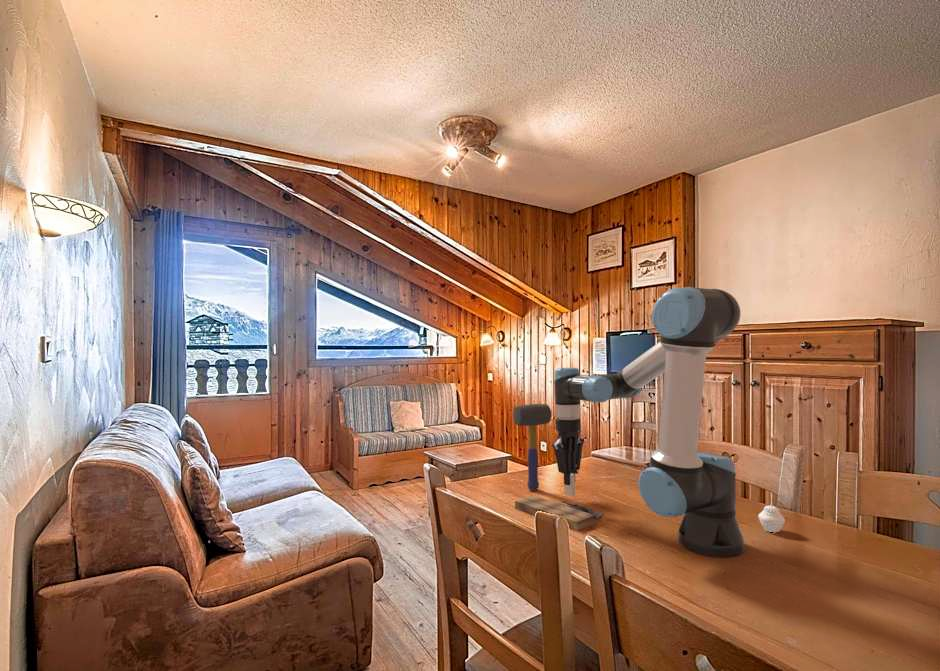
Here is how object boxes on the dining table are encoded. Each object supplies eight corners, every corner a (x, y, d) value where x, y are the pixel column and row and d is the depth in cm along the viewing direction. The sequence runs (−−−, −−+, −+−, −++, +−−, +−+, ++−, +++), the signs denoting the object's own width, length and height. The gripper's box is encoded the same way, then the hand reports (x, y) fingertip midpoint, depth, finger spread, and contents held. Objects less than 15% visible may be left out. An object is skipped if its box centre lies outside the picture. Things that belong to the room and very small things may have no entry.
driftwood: (606, 518, 147) (606, 511, 147) (591, 523, 143) (591, 516, 143) (555, 501, 163) (555, 494, 163) (540, 505, 159) (540, 499, 159)
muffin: (755, 531, 134) (755, 505, 134) (762, 525, 138) (761, 500, 138) (782, 537, 130) (781, 511, 130) (787, 531, 134) (787, 505, 134)
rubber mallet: (522, 495, 167) (521, 406, 167) (512, 489, 174) (511, 403, 174) (554, 490, 171) (553, 404, 171) (543, 484, 178) (542, 401, 178)
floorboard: (594, 523, 141) (594, 514, 141) (577, 530, 136) (577, 521, 136) (532, 502, 159) (532, 495, 159) (515, 508, 154) (514, 500, 154)
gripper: (571, 414, 159) (573, 488, 159) (544, 419, 151) (546, 496, 151) (590, 416, 154) (593, 493, 153) (563, 421, 145) (566, 502, 145)
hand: (570, 494), depth 152 cm, fingers closed
